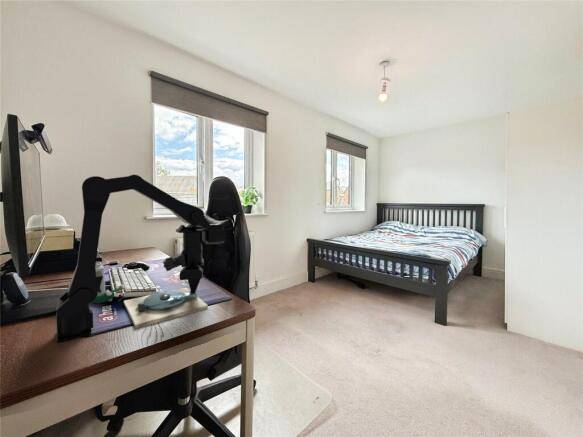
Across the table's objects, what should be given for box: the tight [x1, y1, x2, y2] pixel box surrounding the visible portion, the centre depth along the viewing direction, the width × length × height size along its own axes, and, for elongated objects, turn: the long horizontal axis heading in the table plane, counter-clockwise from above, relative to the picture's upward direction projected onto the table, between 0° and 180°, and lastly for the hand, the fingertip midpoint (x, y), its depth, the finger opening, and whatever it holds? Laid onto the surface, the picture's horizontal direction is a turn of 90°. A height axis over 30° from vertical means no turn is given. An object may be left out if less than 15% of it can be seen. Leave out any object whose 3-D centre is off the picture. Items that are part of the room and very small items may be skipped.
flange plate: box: [138, 286, 199, 310], centre depth 80 cm, size 17×12×5 cm
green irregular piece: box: [91, 283, 127, 304], centre depth 84 cm, size 9×4×6 cm
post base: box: [123, 287, 208, 329], centre depth 80 cm, size 20×20×3 cm
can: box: [95, 261, 106, 296], centre depth 84 cm, size 8×8×12 cm
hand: (193, 293), depth 82 cm, fingers closed
